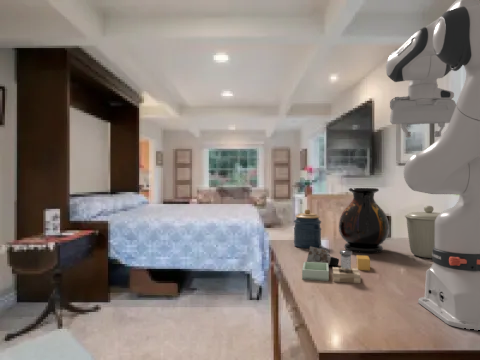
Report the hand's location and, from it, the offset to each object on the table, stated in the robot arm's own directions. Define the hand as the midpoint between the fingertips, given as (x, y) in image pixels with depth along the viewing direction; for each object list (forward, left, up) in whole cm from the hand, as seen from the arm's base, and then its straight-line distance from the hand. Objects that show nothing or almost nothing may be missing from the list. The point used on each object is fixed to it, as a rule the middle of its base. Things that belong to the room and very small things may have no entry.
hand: (422, 137), depth 118 cm
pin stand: (-12, +26, -46) cm, 54 cm away
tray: (-10, +35, -46) cm, 59 cm away
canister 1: (+42, +40, -46) cm, 74 cm away
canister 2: (+31, -10, -46) cm, 57 cm away
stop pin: (-12, +26, -46) cm, 54 cm away
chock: (+4, +19, -46) cm, 50 cm away
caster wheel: (+4, +33, -46) cm, 57 cm away
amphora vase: (+38, +15, -46) cm, 62 cm away
